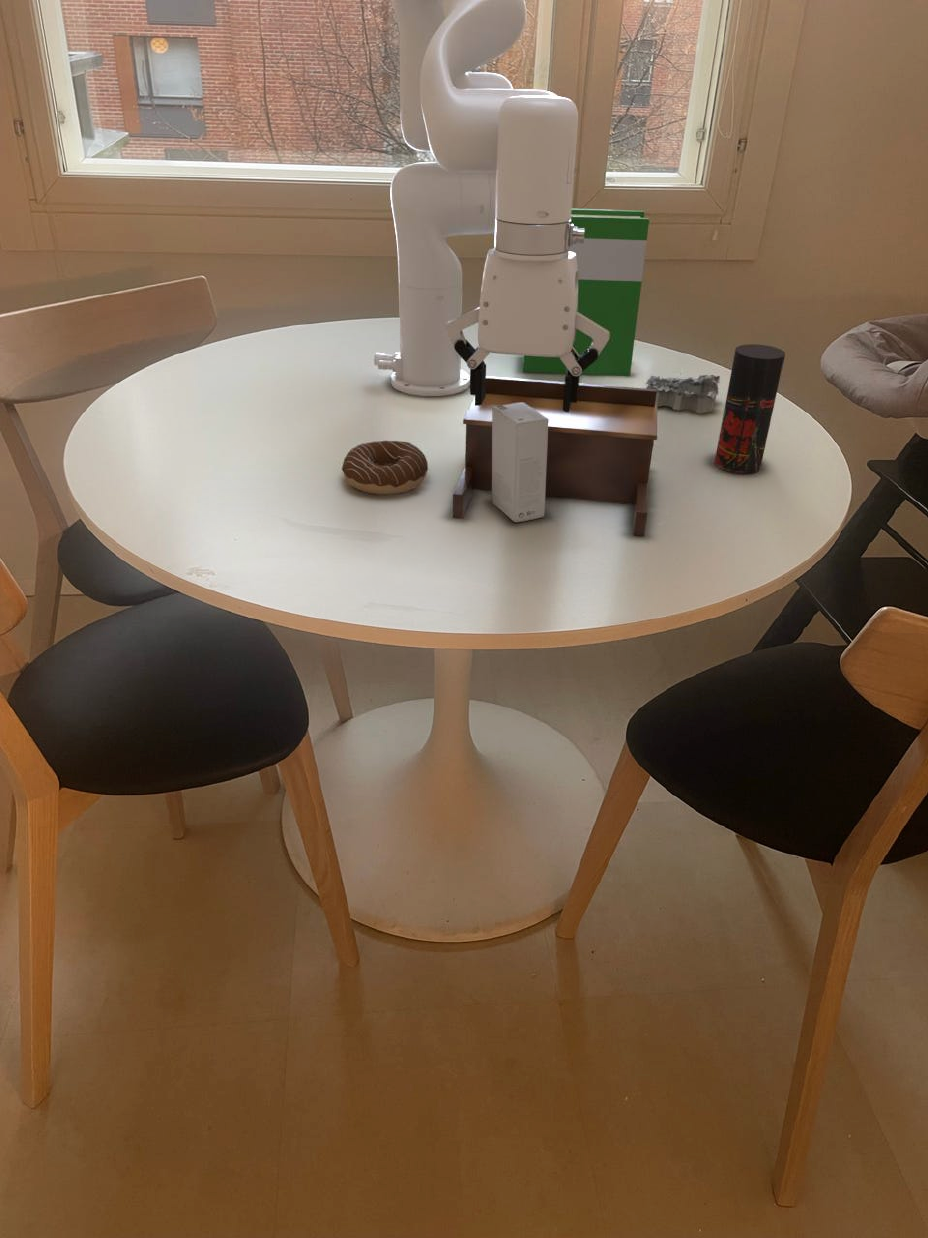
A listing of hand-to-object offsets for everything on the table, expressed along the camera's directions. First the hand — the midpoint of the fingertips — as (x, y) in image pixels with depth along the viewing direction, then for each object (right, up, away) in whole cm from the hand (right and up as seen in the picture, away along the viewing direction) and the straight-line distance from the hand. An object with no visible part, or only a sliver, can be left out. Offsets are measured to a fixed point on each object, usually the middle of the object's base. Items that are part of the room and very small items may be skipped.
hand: (523, 404), depth 99 cm
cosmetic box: (0, -11, +8) cm, 13 cm away
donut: (-16, -6, +14) cm, 22 cm away
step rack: (+5, -8, +11) cm, 15 cm away
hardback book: (+12, +19, +53) cm, 57 cm away
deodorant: (+30, -3, +20) cm, 36 cm away
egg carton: (+27, +9, +39) cm, 48 cm away
